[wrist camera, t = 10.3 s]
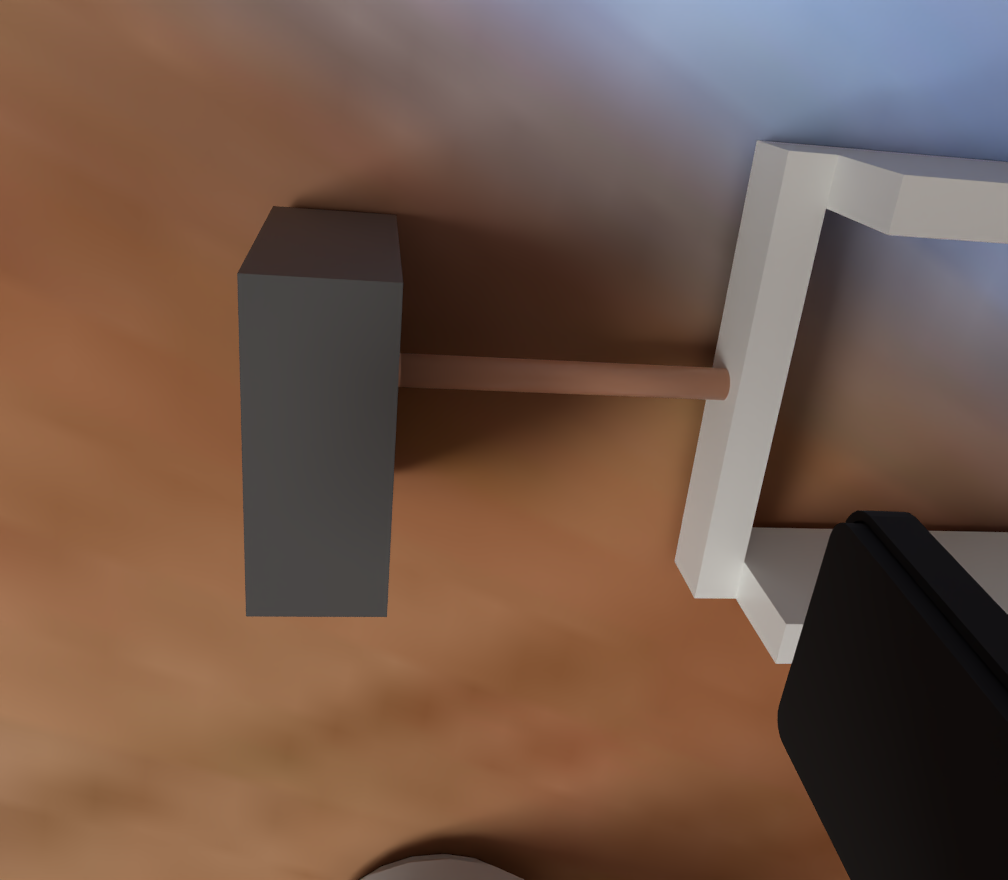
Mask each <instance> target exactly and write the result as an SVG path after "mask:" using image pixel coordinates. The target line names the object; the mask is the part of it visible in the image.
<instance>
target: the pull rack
mask: <svg viewBox="0 0 1008 880" xmlns="http://www.w3.org/2000/svg"><path fill="white" fill-rule="evenodd" d="M826 209H829V210H831V211H833V212H836V213H838V214H840V215H843V216H845V217H847V218H849V219H852V220H854V221H856V222H859V223H861V224H863V225H866V226H868V227H870V228H873V229H875V230H877V231H880V232H882V233H884V234H887V235H893V236H907V237H921V238H935V239H949V240H963V241H977V242H991V243H1005V244H1008V162H1002V161H991V160H979V159H968V158H956V157H945V156H933V155H922V154H910V153H898V152H887V151H875V150H864V149H852V148H841V147H829V146H818V145H806V144H794V143H783V142H771V141H760V140H757V143H756V148H755V153H754V158H753V163H752V168H751V173H750V178H749V183H748V189H747V194H746V199H745V204H744V209H743V214H742V219H741V224H740V229H739V235H738V240H737V245H736V250H735V255H734V260H733V265H732V270H731V275H730V281H729V286H728V291H727V296H726V301H725V306H724V311H723V316H722V321H721V326H720V332H719V337H718V342H717V347H716V352H715V357H714V362H713V367H691V366H670V365H648V364H627V363H605V362H584V361H562V360H541V359H519V358H498V357H476V356H455V355H433V354H412V353H400V338H401V318H402V298H403V276H402V266H401V256H400V247H399V237H398V227H397V217H396V215H391V214H377V213H363V212H348V211H334V210H319V209H305V208H290V207H276V206H273V208H272V210H271V211H270V213H269V215H268V217H267V219H266V221H265V223H264V225H263V226H262V228H261V230H260V232H259V234H258V236H257V238H256V240H255V241H254V243H253V245H252V247H251V249H250V251H249V253H248V255H247V256H246V258H245V260H244V262H243V264H242V266H241V268H240V270H239V271H238V273H237V275H238V315H239V354H240V393H241V433H242V472H243V512H244V551H245V591H246V616H296V617H387V603H388V582H389V562H390V542H391V521H392V501H393V481H394V460H395V440H396V420H397V399H398V387H411V388H436V389H460V390H484V391H509V392H533V393H558V394H582V395H606V396H631V397H655V398H680V399H704V400H706V403H705V408H704V413H703V418H702V423H701V429H700V434H699V439H698V444H697V449H696V454H695V459H694V464H693V469H692V475H691V480H690V485H689V490H688V495H687V500H686V505H685V510H684V515H683V520H682V526H681V531H680V536H679V541H678V546H677V551H676V556H675V563H676V565H677V567H678V569H679V570H680V572H681V574H682V576H683V578H684V580H685V581H686V583H687V585H688V587H689V589H690V591H691V592H692V594H693V596H694V598H736V600H737V601H738V603H739V605H740V606H741V608H742V610H743V611H744V613H745V614H746V616H747V618H748V619H749V621H750V623H751V624H752V626H753V627H754V629H755V631H756V632H757V634H758V636H759V637H760V639H761V640H762V642H763V644H764V645H765V647H766V648H767V650H768V652H769V653H770V655H771V657H772V658H773V660H774V661H775V663H776V664H792V661H793V657H794V654H795V651H796V647H797V644H798V641H799V637H800V634H801V631H802V627H803V624H804V621H805V617H806V614H807V611H808V607H809V604H810V600H811V597H812V594H813V590H814V587H815V584H816V580H817V577H818V574H819V570H820V567H821V564H822V560H823V557H824V554H825V550H826V547H827V544H828V540H829V537H830V534H831V532H832V529H810V528H758V527H752V526H753V521H754V517H755V513H756V508H757V504H758V500H759V496H760V491H761V487H762V483H763V478H764V474H765V470H766V465H767V461H768V457H769V452H770V448H771V444H772V439H773V435H774V431H775V426H776V422H777V418H778V414H779V409H780V405H781V401H782V396H783V392H784V388H785V383H786V379H787V375H788V370H789V366H790V362H791V357H792V353H793V349H794V345H795V340H796V336H797V332H798V327H799V323H800V319H801V314H802V310H803V306H804V301H805V297H806V293H807V288H808V284H809V280H810V275H811V271H812V267H813V263H814V258H815V254H816V250H817V245H818V241H819V237H820V232H821V228H822V224H823V219H824V215H825V211H826ZM929 532H930V533H931V534H932V535H933V536H934V537H935V538H936V540H937V541H938V542H939V543H940V544H941V545H942V546H943V547H944V548H945V549H946V550H947V551H948V552H949V553H950V554H951V555H952V556H953V557H954V559H955V560H956V561H957V562H958V563H959V564H960V565H961V566H962V567H963V568H964V569H965V570H966V571H967V572H968V573H969V574H970V575H971V576H972V577H973V579H974V580H975V581H976V582H977V583H978V584H979V585H980V586H981V587H982V588H983V589H984V590H985V591H986V592H987V593H988V594H989V595H990V596H991V598H992V599H993V600H994V601H995V602H996V603H997V604H998V605H999V606H1000V607H1001V608H1002V609H1003V610H1004V611H1005V612H1006V613H1007V614H1008V532H968V531H929Z"/></svg>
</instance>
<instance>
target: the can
mask: <svg viewBox="0 0 1008 880" xmlns="http://www.w3.org/2000/svg"><path fill="white" fill-rule="evenodd" d="M360 880H524V879H522V878H520V877H518V876H515V875H513V874H511V873H508V872H506V871H504V870H502V869H499V868H497V867H495V866H493V865H489V864H487V863H485V862H482V861H480V860H478V859H476V858H470V857H463V856H456V855H449V854H436V855H424V856H413V857H409V858H406V859H403V860H400V861H397V862H394V863H390V864H387V865H384V866H381V867H379V868H378V869H376V870H375V871H373V872H371V873H370V874H368V875H366V876H365V877H363V878H362V879H360Z"/></svg>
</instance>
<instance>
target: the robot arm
mask: <svg viewBox="0 0 1008 880" xmlns="http://www.w3.org/2000/svg"><path fill="white" fill-rule="evenodd" d="M778 729H779V734H780V738H781V740H782V743H783V745H784V747H785V749H786V751H787V753H788V755H789V757H790V759H791V761H792V763H793V765H794V767H795V769H796V771H797V773H798V775H799V777H800V779H801V781H802V783H803V785H804V787H805V789H806V791H807V793H808V795H809V797H810V799H811V801H812V803H813V805H814V807H815V809H816V811H817V813H818V815H819V817H820V819H821V821H822V823H823V825H824V827H825V829H826V831H827V833H828V835H829V837H830V839H831V841H832V843H833V845H834V847H835V849H836V851H837V853H838V855H839V857H840V859H841V861H842V863H843V865H844V867H845V869H846V871H847V873H848V875H849V877H850V879H851V880H1008V614H1007V613H1006V612H1005V611H1004V610H1003V609H1002V608H1001V607H1000V606H999V605H998V604H997V603H996V602H995V601H994V600H993V599H992V598H991V596H990V595H989V594H988V593H987V592H986V591H985V590H984V589H983V588H982V587H981V586H980V585H979V584H978V583H977V582H976V581H975V580H974V579H973V577H972V576H971V575H970V574H969V573H968V572H967V571H966V570H965V569H964V568H963V567H962V566H961V565H960V564H959V563H958V562H957V561H956V560H955V559H954V557H953V556H952V555H951V554H950V553H949V552H948V551H947V550H946V549H945V548H944V547H943V546H942V545H941V544H940V543H939V542H938V541H937V540H936V538H935V537H934V536H933V535H932V534H931V533H930V532H929V531H928V530H927V529H926V528H925V527H924V526H923V525H922V524H921V523H920V522H919V521H918V519H917V518H916V517H914V516H913V515H911V514H910V513H906V512H888V511H856V512H854V513H852V514H851V515H850V516H849V517H848V519H847V520H846V523H839V524H837V525H836V526H835V527H834V528H833V529H832V532H831V534H830V537H829V540H828V544H827V547H826V550H825V554H824V557H823V560H822V564H821V567H820V570H819V574H818V577H817V580H816V584H815V587H814V590H813V594H812V597H811V600H810V604H809V607H808V611H807V614H806V617H805V621H804V624H803V627H802V631H801V634H800V637H799V641H798V644H797V647H796V651H795V654H794V657H793V661H792V664H791V667H790V671H789V674H788V677H787V681H786V684H785V688H784V691H783V694H782V698H781V701H780V704H779V709H778Z"/></svg>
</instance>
